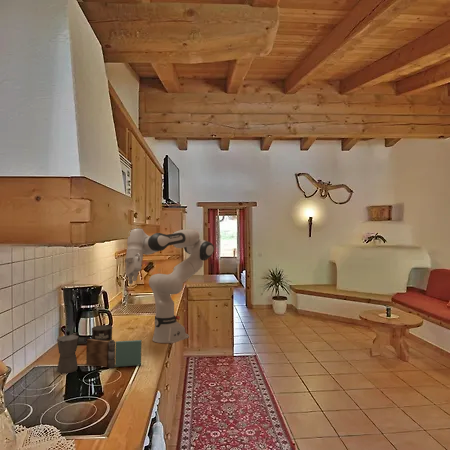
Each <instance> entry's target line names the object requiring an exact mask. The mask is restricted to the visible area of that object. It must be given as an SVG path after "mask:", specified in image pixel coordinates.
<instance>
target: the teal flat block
mask: <svg viewBox="0 0 450 450" xmlns="http://www.w3.org/2000/svg"><path fill="white" fill-rule="evenodd" d="M108 359H110V360H112V359H115V367H114V368H116V367H117V368H118V367H131V366H132V367H133V366H141V365H142V340H141V339H136V340H135V339H134V340H121V341H116V340H115V350H114V351H108Z"/></svg>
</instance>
